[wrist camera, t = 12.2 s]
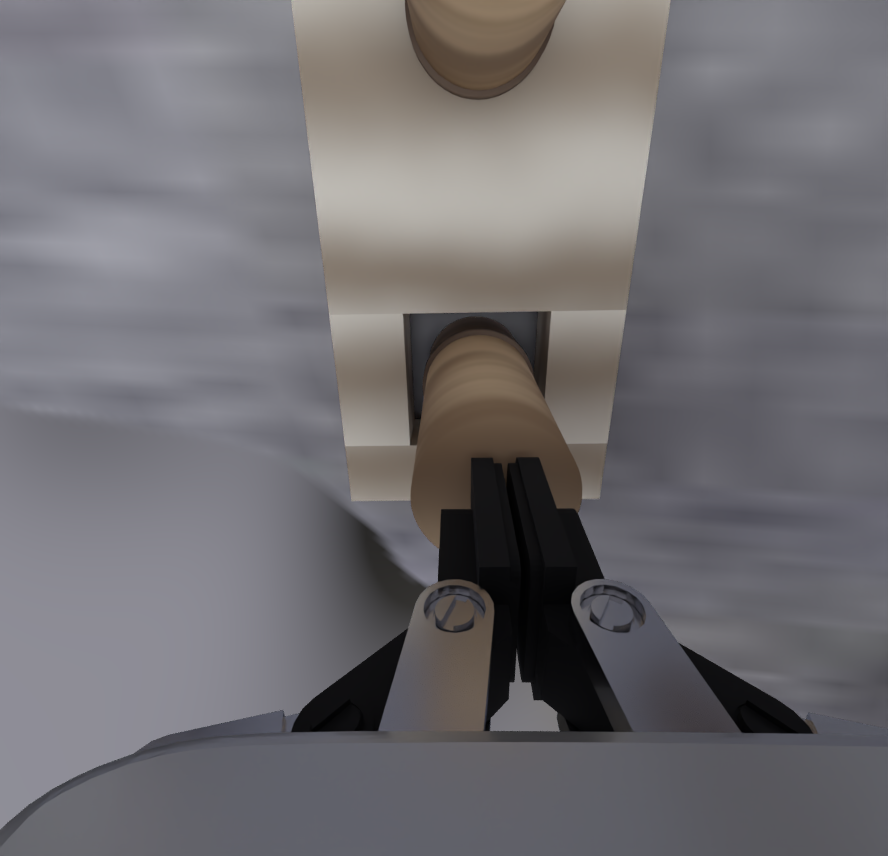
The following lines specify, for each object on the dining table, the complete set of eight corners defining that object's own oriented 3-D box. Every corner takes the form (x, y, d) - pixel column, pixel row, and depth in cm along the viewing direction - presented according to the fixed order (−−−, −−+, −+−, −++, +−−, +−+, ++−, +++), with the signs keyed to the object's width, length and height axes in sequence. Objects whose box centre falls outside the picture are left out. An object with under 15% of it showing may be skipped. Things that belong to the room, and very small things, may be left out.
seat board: (583, 468, 25) (683, 662, 14) (362, 470, 26) (296, 662, 15) (661, -175, 15) (1190, -1144, 4) (295, -161, 15) (-76, -1048, 5)
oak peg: (520, 405, 24) (578, 569, 13) (428, 406, 24) (409, 570, 13) (525, 312, 22) (599, 413, 11) (424, 314, 22) (399, 415, 11)
